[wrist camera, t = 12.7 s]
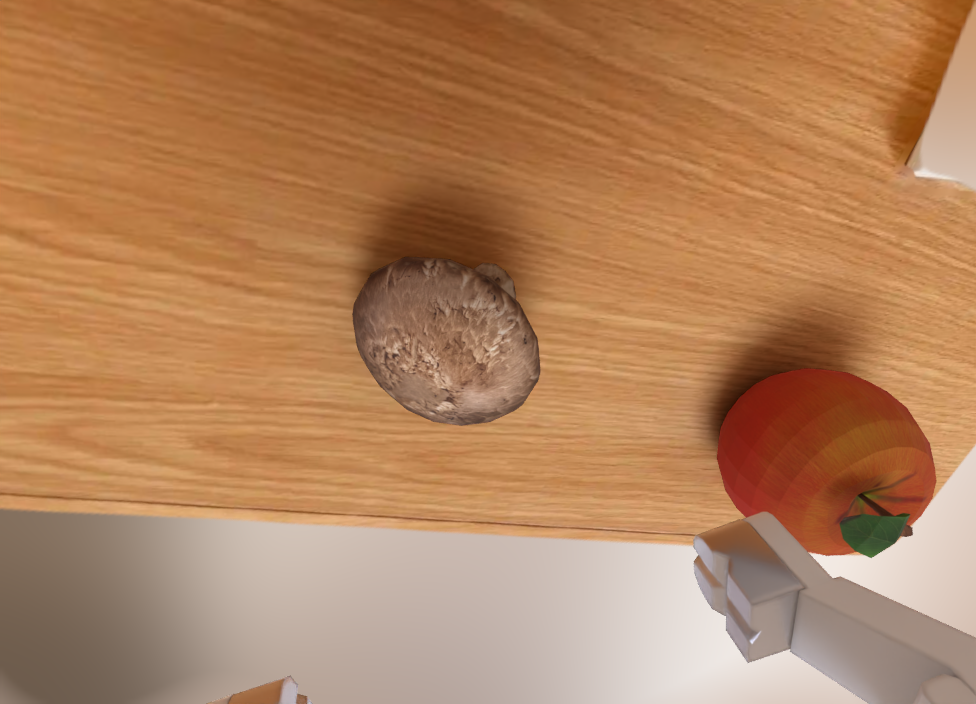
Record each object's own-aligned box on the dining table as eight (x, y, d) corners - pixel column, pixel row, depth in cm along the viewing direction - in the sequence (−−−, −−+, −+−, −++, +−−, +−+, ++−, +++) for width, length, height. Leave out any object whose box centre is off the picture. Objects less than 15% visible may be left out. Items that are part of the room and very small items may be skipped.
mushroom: (575, 233, 20) (531, 354, 16) (552, 362, 26) (516, 472, 22) (383, 192, 21) (302, 294, 18) (405, 323, 28) (348, 419, 24)
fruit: (780, 485, 35) (918, 622, 26) (662, 465, 31) (775, 614, 23) (868, 361, 31) (1063, 473, 22) (744, 326, 28) (915, 440, 19)
